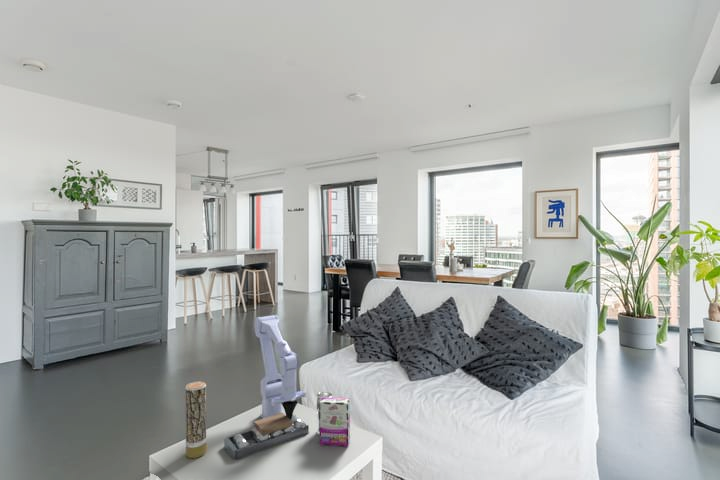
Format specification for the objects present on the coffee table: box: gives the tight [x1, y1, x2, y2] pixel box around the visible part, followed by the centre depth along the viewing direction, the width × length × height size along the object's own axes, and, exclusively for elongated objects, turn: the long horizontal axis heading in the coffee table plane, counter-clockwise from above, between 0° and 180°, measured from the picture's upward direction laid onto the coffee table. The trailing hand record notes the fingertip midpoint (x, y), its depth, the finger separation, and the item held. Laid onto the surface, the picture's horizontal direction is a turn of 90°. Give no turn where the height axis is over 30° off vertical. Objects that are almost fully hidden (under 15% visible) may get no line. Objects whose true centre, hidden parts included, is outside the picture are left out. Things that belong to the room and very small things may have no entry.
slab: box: [253, 412, 292, 436], centre depth 146 cm, size 9×12×2 cm
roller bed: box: [223, 414, 310, 460], centre depth 145 cm, size 11×30×4 cm, turn 128°
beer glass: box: [315, 391, 334, 436], centre depth 150 cm, size 7×7×15 cm
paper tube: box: [185, 381, 207, 459], centre depth 135 cm, size 7×7×25 cm
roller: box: [232, 433, 250, 449], centre depth 138 cm, size 8×4×4 cm
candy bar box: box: [319, 397, 351, 447], centre depth 143 cm, size 11×5×16 cm, turn 83°
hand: (289, 418), depth 150 cm, fingers closed
